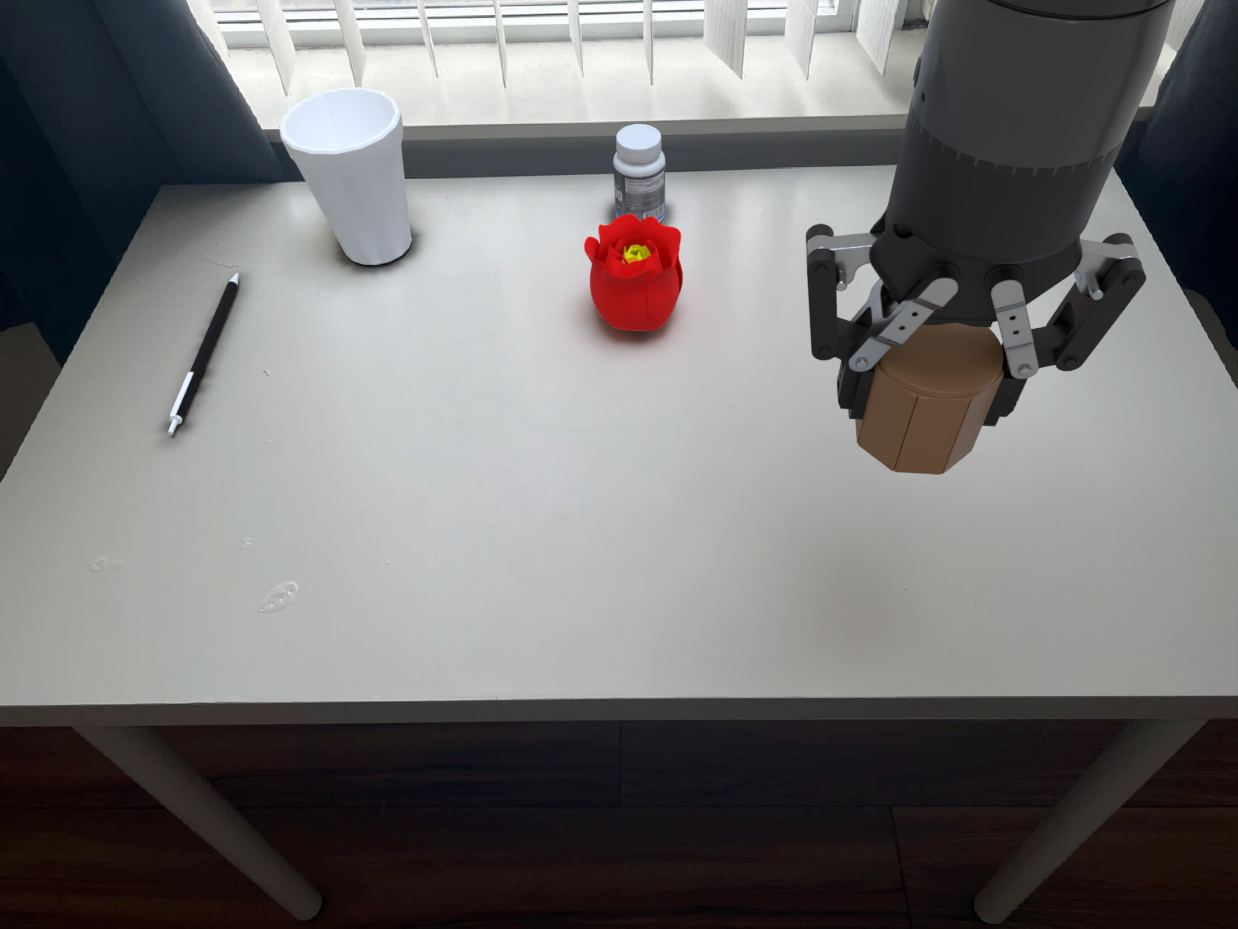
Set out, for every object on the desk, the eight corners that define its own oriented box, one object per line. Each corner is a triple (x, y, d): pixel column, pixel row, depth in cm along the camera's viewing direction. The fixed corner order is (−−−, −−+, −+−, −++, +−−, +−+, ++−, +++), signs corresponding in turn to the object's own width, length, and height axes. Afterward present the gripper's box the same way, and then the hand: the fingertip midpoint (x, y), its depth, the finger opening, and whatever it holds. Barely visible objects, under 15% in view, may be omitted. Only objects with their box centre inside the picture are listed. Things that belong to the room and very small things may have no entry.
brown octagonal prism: (962, 391, 48) (993, 307, 44) (977, 477, 45) (1013, 395, 40) (852, 386, 49) (871, 303, 44) (858, 470, 45) (880, 389, 41)
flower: (576, 306, 78) (568, 230, 71) (652, 274, 80) (652, 198, 73) (621, 361, 73) (617, 285, 67) (700, 326, 75) (704, 250, 69)
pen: (167, 436, 70) (160, 427, 69) (234, 276, 82) (230, 266, 81) (178, 436, 70) (172, 427, 69) (244, 276, 82) (240, 266, 81)
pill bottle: (616, 200, 87) (612, 120, 80) (665, 200, 87) (665, 120, 80) (614, 231, 84) (610, 151, 77) (665, 230, 84) (665, 150, 77)
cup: (346, 296, 80) (299, 166, 69) (311, 236, 85) (263, 108, 75) (449, 256, 82) (419, 127, 72) (409, 201, 88) (375, 73, 78)
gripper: (821, 155, 31) (776, 460, 44) (1268, 164, 29) (1082, 477, 43) (815, 46, 35) (776, 352, 49) (1201, 49, 34) (1052, 364, 47)
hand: (919, 409), depth 45 cm, fingers closed on brown octagonal prism, 5 cm apart
